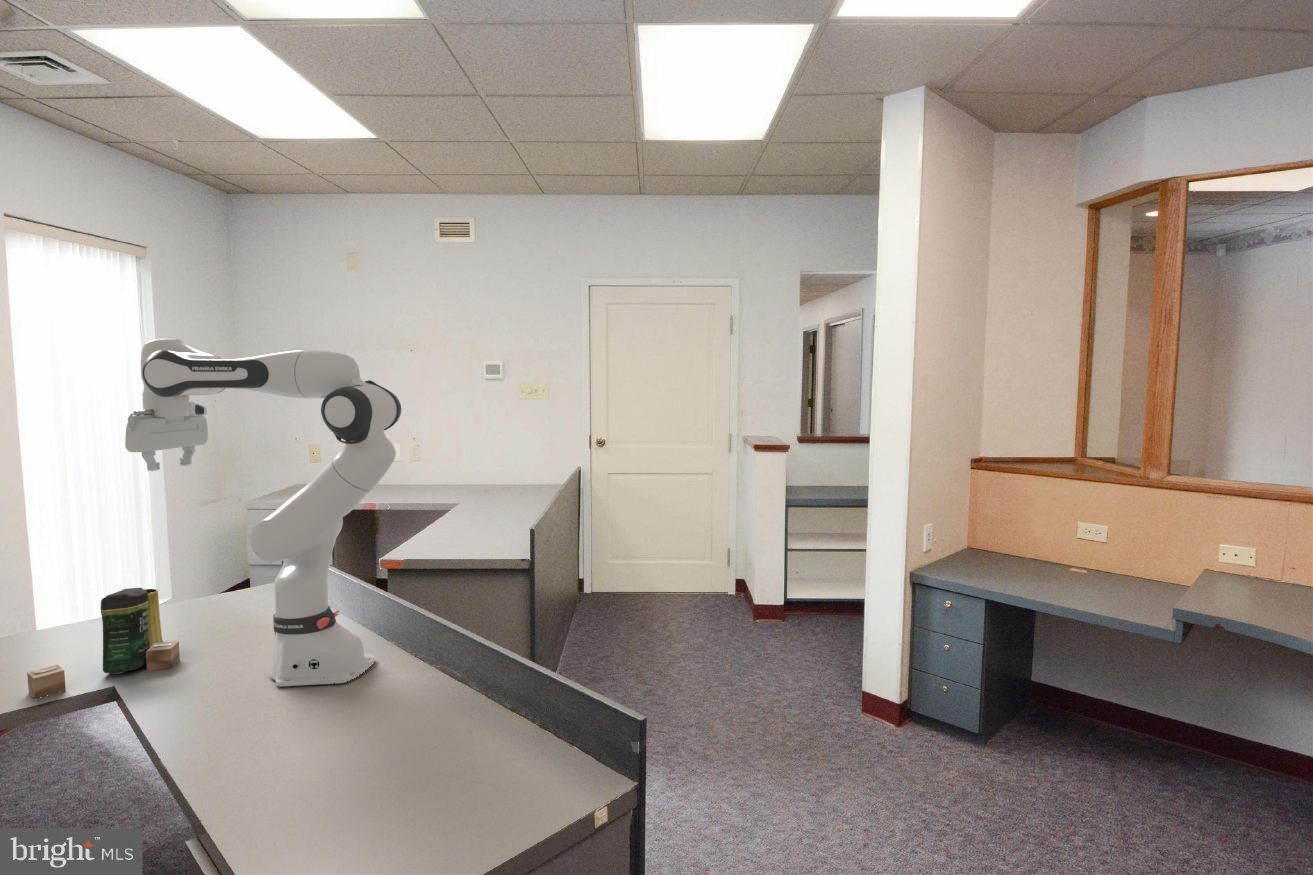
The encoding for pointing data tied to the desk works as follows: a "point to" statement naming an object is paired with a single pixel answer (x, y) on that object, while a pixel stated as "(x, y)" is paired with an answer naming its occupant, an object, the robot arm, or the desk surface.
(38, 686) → the marked block 1
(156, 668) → the marked block 2
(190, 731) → the desk surface
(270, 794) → the desk surface
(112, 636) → the coffee jar
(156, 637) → the vase
